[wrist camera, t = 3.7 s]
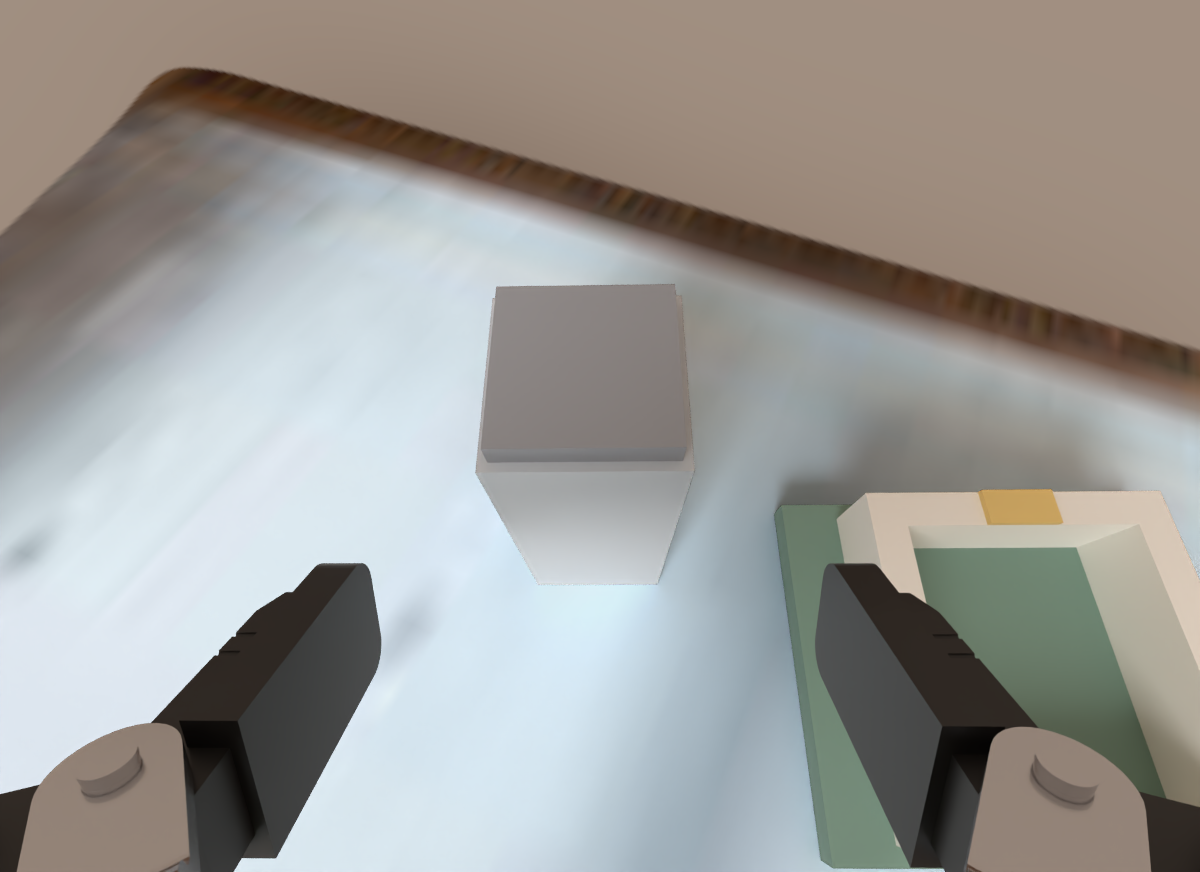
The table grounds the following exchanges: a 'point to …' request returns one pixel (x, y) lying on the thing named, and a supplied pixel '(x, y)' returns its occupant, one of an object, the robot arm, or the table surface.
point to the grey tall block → (587, 428)
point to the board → (1013, 630)
